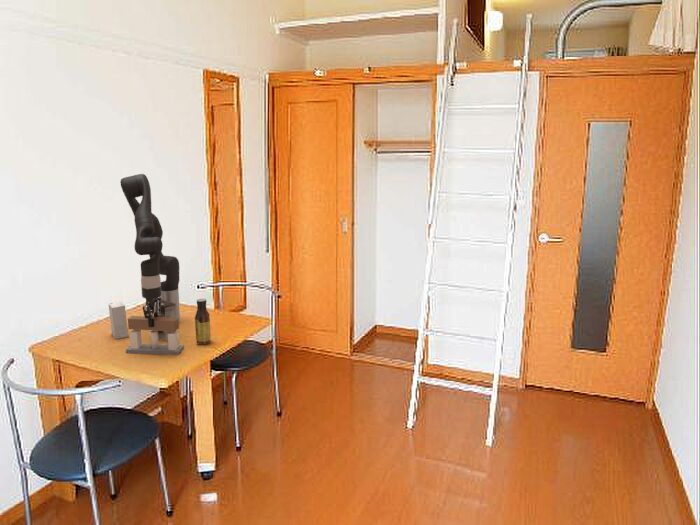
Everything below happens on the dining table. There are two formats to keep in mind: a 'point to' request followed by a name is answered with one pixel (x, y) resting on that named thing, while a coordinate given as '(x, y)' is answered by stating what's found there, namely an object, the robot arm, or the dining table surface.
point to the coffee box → (168, 312)
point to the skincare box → (118, 320)
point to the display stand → (154, 344)
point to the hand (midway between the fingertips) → (153, 324)
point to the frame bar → (159, 323)
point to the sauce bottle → (202, 323)
